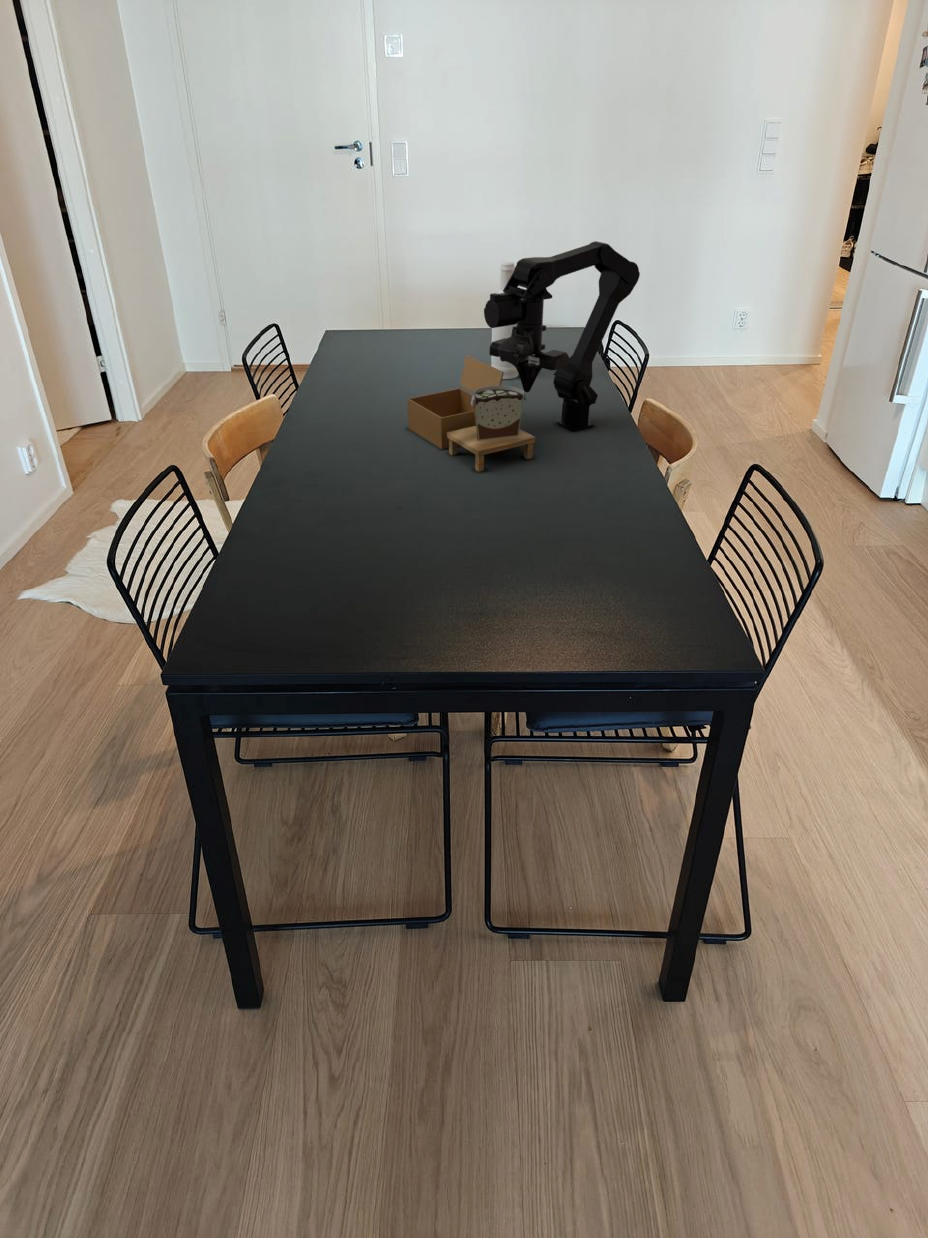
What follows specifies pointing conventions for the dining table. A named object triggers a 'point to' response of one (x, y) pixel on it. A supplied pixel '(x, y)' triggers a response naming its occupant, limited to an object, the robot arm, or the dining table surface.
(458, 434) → the stool
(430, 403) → the cardboard box
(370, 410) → the dining table surface
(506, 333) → the bottle
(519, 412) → the food container
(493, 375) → the flap
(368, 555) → the dining table surface
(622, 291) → the robot arm
